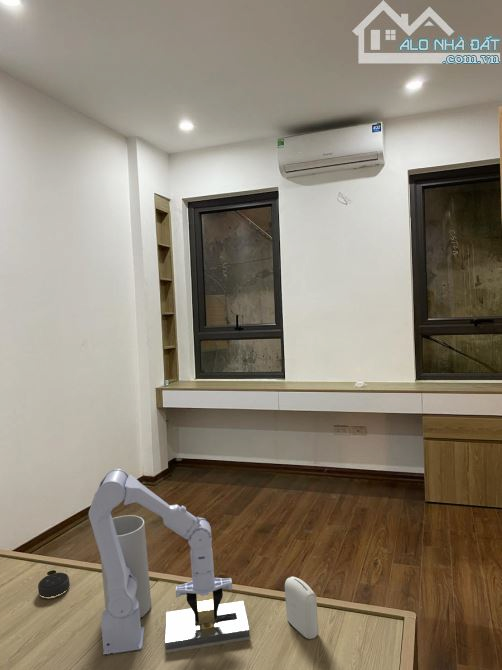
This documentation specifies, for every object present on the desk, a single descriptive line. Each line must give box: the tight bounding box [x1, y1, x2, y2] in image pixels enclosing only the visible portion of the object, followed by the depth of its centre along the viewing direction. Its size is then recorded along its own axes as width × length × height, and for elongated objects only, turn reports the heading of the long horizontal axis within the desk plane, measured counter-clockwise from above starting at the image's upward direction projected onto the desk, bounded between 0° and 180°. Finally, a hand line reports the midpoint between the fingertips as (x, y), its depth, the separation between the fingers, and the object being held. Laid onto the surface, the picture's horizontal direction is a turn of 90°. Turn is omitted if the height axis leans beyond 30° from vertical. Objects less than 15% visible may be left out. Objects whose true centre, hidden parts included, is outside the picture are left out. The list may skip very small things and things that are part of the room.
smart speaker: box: [37, 572, 71, 597], centre depth 150 cm, size 9×9×4 cm
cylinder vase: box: [99, 514, 152, 619], centre depth 138 cm, size 12×12×25 cm
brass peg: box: [197, 599, 215, 629], centre depth 128 cm, size 4×4×6 cm
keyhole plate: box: [164, 600, 251, 654], centre depth 128 cm, size 21×12×3 cm, turn 98°
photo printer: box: [284, 576, 319, 640], centre depth 127 cm, size 10×4×12 cm, turn 29°
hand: (206, 617), depth 128 cm, fingers closed on brass peg, 4 cm apart
